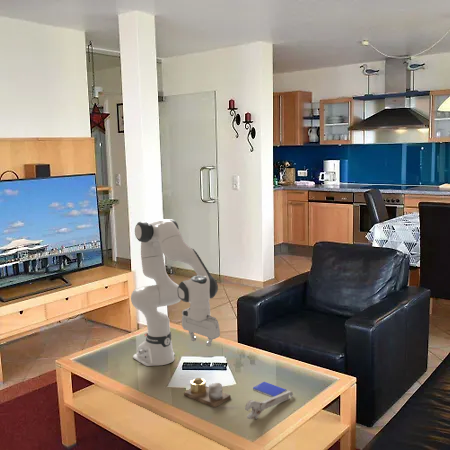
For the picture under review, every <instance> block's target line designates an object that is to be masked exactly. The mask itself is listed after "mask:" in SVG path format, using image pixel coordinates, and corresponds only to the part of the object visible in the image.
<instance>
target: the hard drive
mask: <svg viewBox="0 0 450 450" xmlns="http://www.w3.org/2000/svg"><path fill="white" fill-rule="evenodd" d="M252 390H253V391H255V392H258V393H261V394H263V395H265V396H269V397H270V398H272V397H274V396H277V395H279V394H281V393H284V392H286V391H288V390H287V389H286V388H283V387H281V386H277V385H274V384H272V383H270V382H266V381H262V382H260V383H259V384H257V385H256V386H253V387H252Z"/></svg>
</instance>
